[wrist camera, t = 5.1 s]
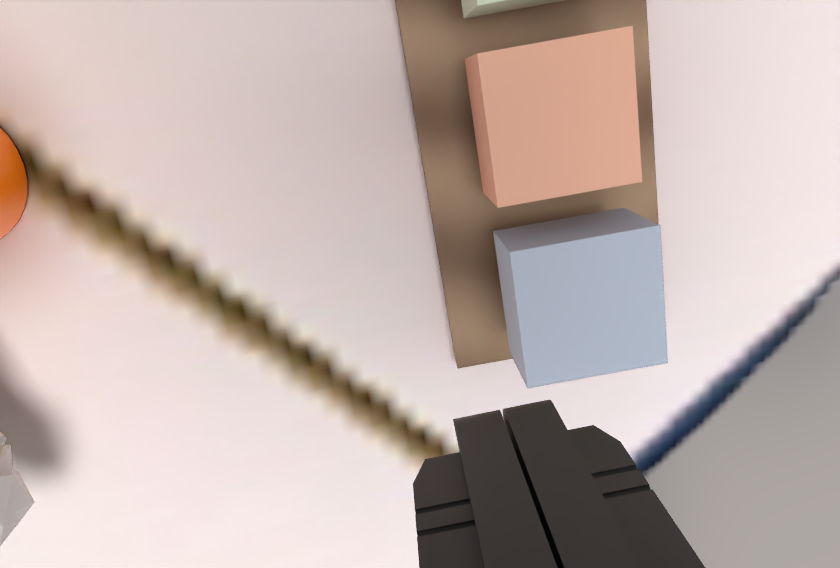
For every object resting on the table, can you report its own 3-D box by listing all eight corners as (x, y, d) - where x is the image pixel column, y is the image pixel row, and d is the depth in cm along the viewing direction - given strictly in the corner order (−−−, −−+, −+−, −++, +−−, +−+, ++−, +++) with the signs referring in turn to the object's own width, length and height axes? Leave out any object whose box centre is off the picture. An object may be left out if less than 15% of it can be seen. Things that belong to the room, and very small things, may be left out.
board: (369, -152, 26) (367, -182, 23) (625, -197, 26) (655, -233, 23) (455, 360, 33) (462, 385, 30) (656, 324, 33) (681, 345, 30)
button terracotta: (464, 59, 27) (477, 53, 23) (598, 35, 27) (632, 25, 23) (483, 193, 29) (497, 207, 25) (609, 170, 29) (642, 181, 25)
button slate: (492, 230, 28) (509, 252, 24) (623, 207, 28) (660, 225, 24) (509, 351, 30) (527, 388, 26) (632, 329, 30) (667, 362, 26)
